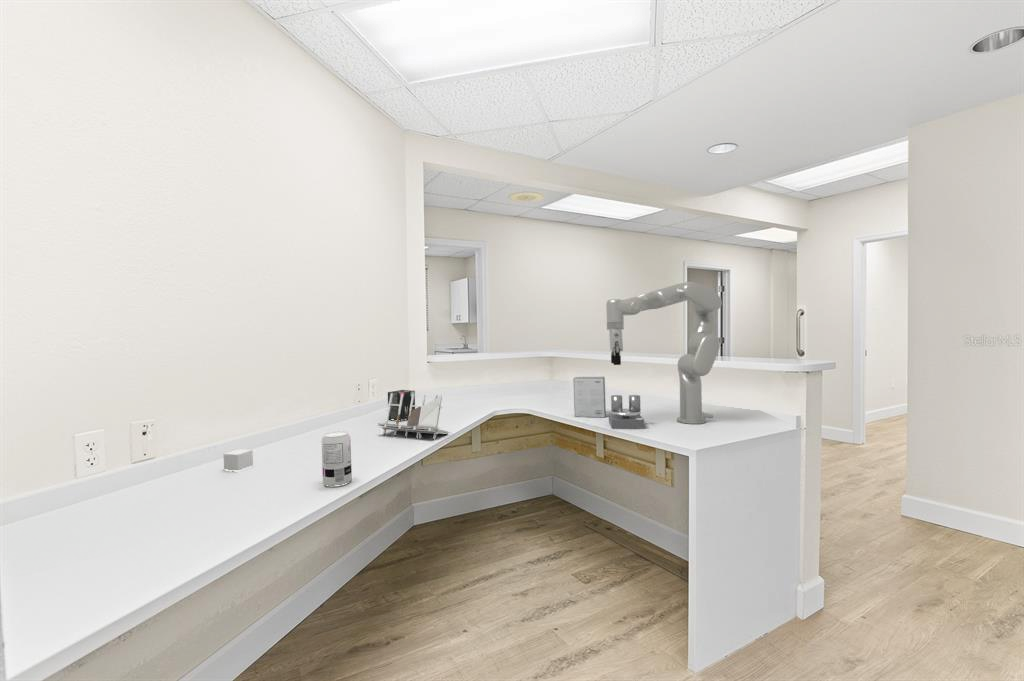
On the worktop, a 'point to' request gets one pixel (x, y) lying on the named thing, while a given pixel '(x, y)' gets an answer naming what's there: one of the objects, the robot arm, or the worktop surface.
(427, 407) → the architectural model
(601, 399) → the hard drive box
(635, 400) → the cylinder
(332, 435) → the supplement can
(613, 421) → the scale body
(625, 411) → the scale pan
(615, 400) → the steel spacer
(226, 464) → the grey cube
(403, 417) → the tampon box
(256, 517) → the worktop surface
